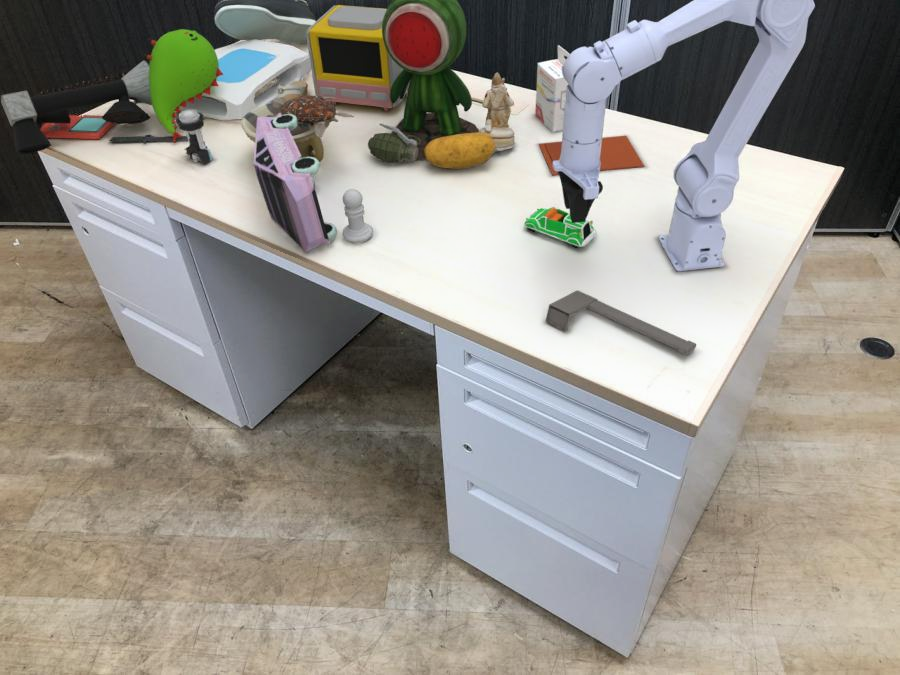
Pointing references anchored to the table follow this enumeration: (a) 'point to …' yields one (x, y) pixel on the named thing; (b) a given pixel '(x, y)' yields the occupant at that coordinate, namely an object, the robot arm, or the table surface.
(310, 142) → the bowl
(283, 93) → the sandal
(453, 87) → the figurine
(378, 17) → the alarm clock
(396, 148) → the grenade
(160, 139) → the knife
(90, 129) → the handheld gaming console
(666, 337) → the toilet paper hanger
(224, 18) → the boat shoe
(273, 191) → the toy car
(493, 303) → the table surface
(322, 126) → the toy
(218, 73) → the toy
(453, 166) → the potato
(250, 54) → the document scanner
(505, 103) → the figurine
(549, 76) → the ink cartridge box
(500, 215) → the table surface
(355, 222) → the chess piece
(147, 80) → the telephone
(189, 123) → the push button
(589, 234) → the toy car
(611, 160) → the rust cloth
